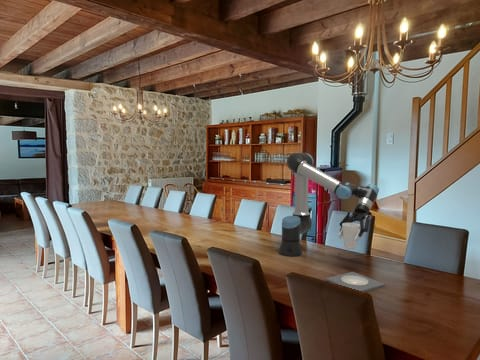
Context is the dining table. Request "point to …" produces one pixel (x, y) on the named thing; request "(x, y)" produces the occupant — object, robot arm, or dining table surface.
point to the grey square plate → (355, 281)
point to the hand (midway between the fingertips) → (347, 238)
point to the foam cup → (350, 234)
